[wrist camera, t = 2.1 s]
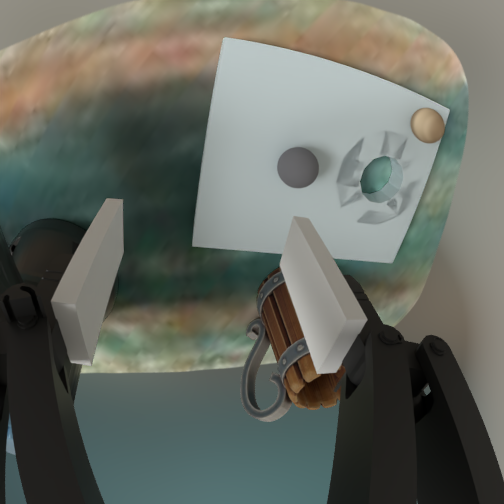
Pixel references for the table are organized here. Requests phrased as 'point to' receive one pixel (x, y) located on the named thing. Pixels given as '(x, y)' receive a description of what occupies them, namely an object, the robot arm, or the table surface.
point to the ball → (298, 167)
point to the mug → (284, 356)
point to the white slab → (315, 140)
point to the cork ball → (427, 125)
